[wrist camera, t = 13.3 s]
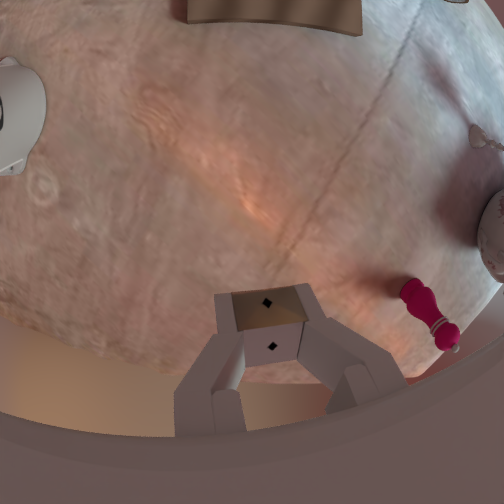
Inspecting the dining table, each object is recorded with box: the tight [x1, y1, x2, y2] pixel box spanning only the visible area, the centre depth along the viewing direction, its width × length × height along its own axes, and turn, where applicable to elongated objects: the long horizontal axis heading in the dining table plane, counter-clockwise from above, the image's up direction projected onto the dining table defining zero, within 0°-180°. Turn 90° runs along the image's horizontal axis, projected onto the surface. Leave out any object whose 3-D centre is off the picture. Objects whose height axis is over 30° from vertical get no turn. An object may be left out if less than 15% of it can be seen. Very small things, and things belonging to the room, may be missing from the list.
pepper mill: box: [400, 279, 460, 353], centre depth 48 cm, size 7×7×20 cm
